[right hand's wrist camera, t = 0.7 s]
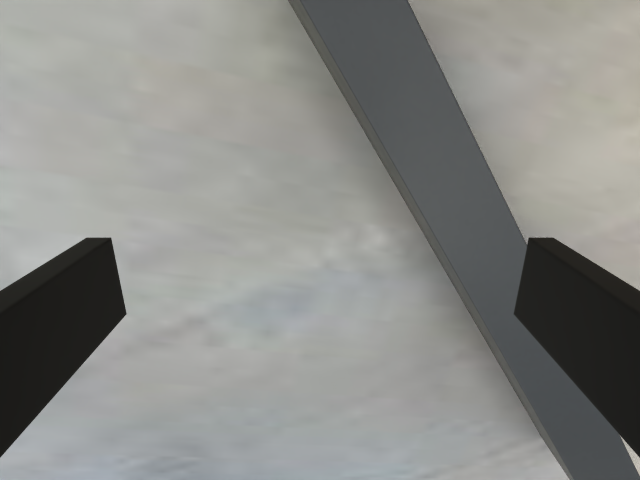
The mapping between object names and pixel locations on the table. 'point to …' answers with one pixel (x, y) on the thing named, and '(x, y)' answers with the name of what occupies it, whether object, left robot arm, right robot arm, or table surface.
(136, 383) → the table surface
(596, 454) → the beam
